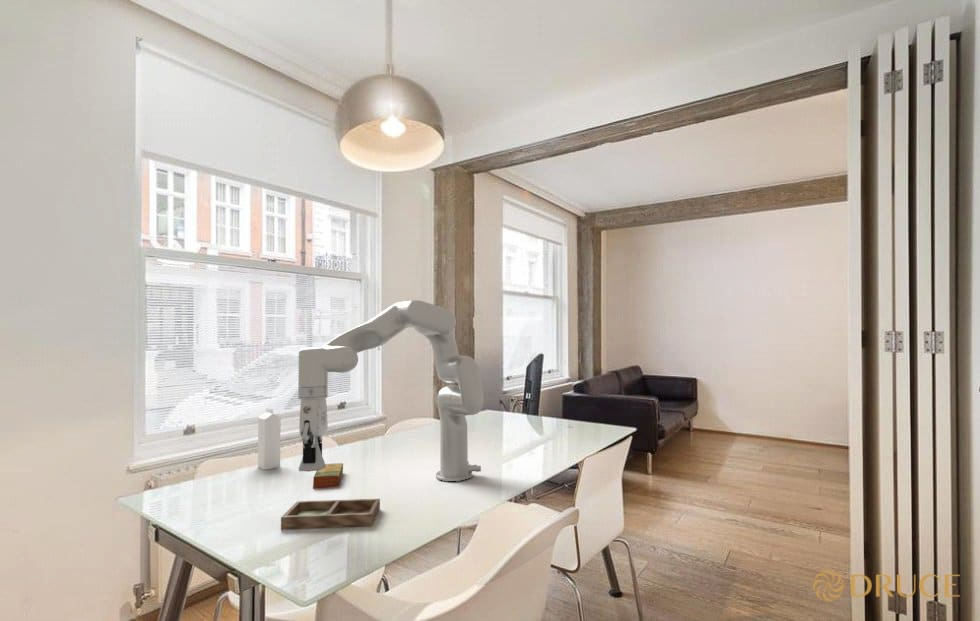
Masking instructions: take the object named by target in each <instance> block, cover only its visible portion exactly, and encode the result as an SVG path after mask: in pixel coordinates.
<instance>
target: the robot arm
mask: <svg viewBox="0 0 980 621" xmlns="http://www.w3.org/2000/svg"><path fill="white" fill-rule="evenodd" d="M456 325H457V318H456V316H455V314H454V313H453V312H452V311H451V310H450V309H447V308H446V307H442V306H439V305H436V304H433V303H429V302H426V301H422V300H418V299H414V300H413V299H412V300H401V301H398V302H395V303H393V304H392V305H390V306H389V307H387V308H386V309H384V310H383V311H382V312H380V313H378V314H377V315H376V316H374V317H372V318H371V319H369V320H368V321H366V322H364V323H363V324H360V325H357V326H356V327H354V328H352V329H350V330H347V331H345V332H344V333H342V334H340V335H337V337H335V338H333V339H332V340H330V341H329V342H327V343H325V344H324V345H323V346H322V347H318V346H317V347H303V348H301V349H300V350H299V352H298V389H297V390H298V391H297V392H298V394H297V395H298V398H297V399H298V400H300V406H299V407H300V409H299V427H298V428H299V436H300V437H301V441H302V458H303V463H304V464H306V463H315V462H316V448H314V446H315V435H316V437H318V444H319V448H320V451H321V454H322V455H323V434H324V433H325V432H327V430H328V428H329V427H328V408H327V407H328V406H327V398H328V393H329V391H328V390H329V388H328V379H329V377H328V375H329V374H328V373H339V374H341V373H343V374H345V373H349V372H351V371H352V370H354V369H355V368H356V366H358V363H359V356H358V354H359V353H361V352H364V351H367V350H372V349H376V348H378V347H381V346H383V345H385V344H386V343H388V342H390V340H392V339H393V338H395V337H396V336H397V335H398V334H400V333H402V332H403V331H404V330H406V329H407V328H408V329H409V328H413V329H414V330H415V331H416V332H417V333H419V334H421V335H423V336H424V337H425V338H426V339H427V340H428V341H429V343H430V345H431V348H432V351H433V359H434V364H435V369H436V370H435V371H436V374H437V378H438V379H439V380H440V381H442V382H444V383H450V384H449V385H446V386H443V387H442V388H440V390H439V391H438V393H437V397H436V401H437V409H438V413H439V433H440V434H439V435H440V436H439V438H440V440H439V441H440V442H439V444H440V445H439V446H440V450H439V451H440V452H439V453H440V454H439V456H440V457H439V458H440V465H439V466H440V470H439V471H438V472H436V473H435V478H436V479H437V480H439V481H441V480H442V482H448V481H456V482H462V481H461V480H464V481H466V480H465V479H467V480H469V479H468V478H470V477H471V478H472V477H473V472H481V470H482V468H481V467H482V466H481V465H478V464H470V462H469V460H468V459H469V457H468V454H469V453H468V452H469V451H468V450H469V449H468V447H469V446H468V441H469V440H468V422H467V421H468V420H467V418H466V416H475V415H478V414H479V413H480V412H481V411H482V408H483V406H484V392H483V386H482V385H483V384H482V381H481V380H482V379H481V378H482V377H481V372H480V367H479V365H478V363H477V361H476V360H475V359H474V358H473V357H471V356H468V355H460V353H459V349H458V348H459V347H458V344H457V340H456V337H455V335H454V333H453V331H454V330H455V329H456ZM451 384H452V385H451ZM456 384H458V385H456ZM309 434H313V436H308V435H309ZM309 438H312V442H311V440H310V439H309ZM471 478H470V479H471Z"/></svg>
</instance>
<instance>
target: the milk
mask: <svg viewBox="0 0 980 621" xmlns="http://www.w3.org/2000/svg"><path fill="white" fill-rule="evenodd" d="M281 420H282V419H281V416H279V415H277V414H275V413H274V409H272V408H271V409H270V408H266V409H265V412H264V413H263V414H261V415H260V416H259V417H258V423H257V425H258V427H257V428H258V429H257V430H258V432H257V434H258V436H257V437H258V438H257V441H258V442H257V468H258V467H259V469H261V470H263V471H267V470H270V469H271V470H272V469H275V468H280V467H281V425H282V424H281Z"/></svg>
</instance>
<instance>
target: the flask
mask: <svg viewBox="0 0 980 621" xmlns="http://www.w3.org/2000/svg"><path fill="white" fill-rule="evenodd" d="M308 436H313V434H309V435H308ZM309 439H310V440H311V442H312V438H309ZM314 448H316V462H315V463H306V464H304V463H303V457H302V458H301V459H300V460H301V461H300V464H299V467H298V472H307V473H308V472H316V471H318V470H322V469H324V468H326V465H325V464H326V463H325V460H324V457H323V453H322V454H321V451H320V448H319V444H318V437H316V435H315V446H314Z"/></svg>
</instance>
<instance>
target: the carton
mask: <svg viewBox="0 0 980 621" xmlns="http://www.w3.org/2000/svg"><path fill="white" fill-rule="evenodd" d="M325 465H326V468H324V469H322V470H318V471H315V473H314V475H313V481H312V489H314V490H315V489H325V488H339V487H340V485H341V482H342V478H343V474H344V473H343V472H344V463H342V462H340V463H339V462H336V463H325Z"/></svg>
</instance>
